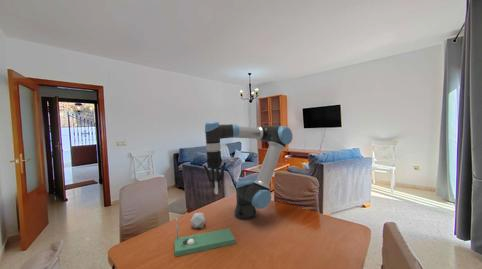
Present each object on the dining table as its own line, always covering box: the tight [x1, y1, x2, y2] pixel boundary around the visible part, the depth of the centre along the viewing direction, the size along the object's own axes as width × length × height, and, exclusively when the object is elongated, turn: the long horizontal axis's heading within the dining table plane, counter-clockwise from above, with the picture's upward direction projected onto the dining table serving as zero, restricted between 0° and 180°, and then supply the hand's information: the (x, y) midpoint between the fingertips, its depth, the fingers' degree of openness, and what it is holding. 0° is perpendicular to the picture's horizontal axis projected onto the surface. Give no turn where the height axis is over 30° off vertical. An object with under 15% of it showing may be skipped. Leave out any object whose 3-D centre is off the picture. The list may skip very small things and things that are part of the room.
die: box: [190, 212, 207, 229], centre depth 127 cm, size 8×9×10 cm
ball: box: [186, 239, 195, 246], centre depth 107 cm, size 4×4×4 cm
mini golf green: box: [174, 217, 236, 258], centre depth 109 cm, size 30×12×14 cm, turn 108°
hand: (216, 193), depth 114 cm, fingers closed
